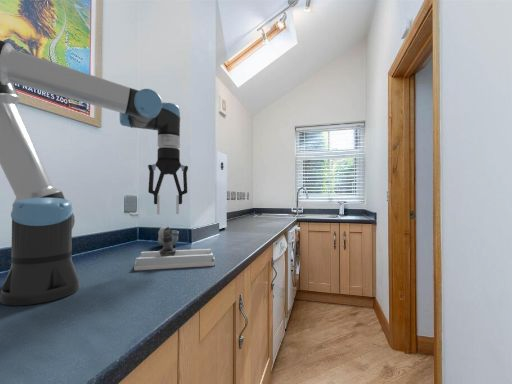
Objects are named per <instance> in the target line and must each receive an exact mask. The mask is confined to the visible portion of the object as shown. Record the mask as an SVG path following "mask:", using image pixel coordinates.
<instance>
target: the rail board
mask: <svg viewBox="0 0 512 384" xmlns="http://www.w3.org/2000/svg"><path fill="white" fill-rule="evenodd" d="M133 265H134V266H133V271H148V270H163V269H166V270H167V269H179V268H181V269H182V268H194V267H195V268H197V267H210V266H211V267H214V265H215V266H216V258H215V256H214V254H213V252H212V249H211V248H198V249H196V248H195V249H179V250H177V249H176V251H175V255H174V256H163V257H161V255H160V252H159V250H157V251H156V250H153V251H141V252H140V255H139V256H138V257H136V258H135V262H134V264H133Z"/></svg>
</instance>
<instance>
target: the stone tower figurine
mask: <svg viewBox="0 0 512 384" xmlns="http://www.w3.org/2000/svg"><path fill="white" fill-rule="evenodd" d="M166 227H167V229H166V230H165V231H164V239H163V246H162V248H161V249H159V250H158V251H159V252H160V255H161V257H163V256H174V255H175V251H176V250H177V249H175V248H174V246H172V240H173V239H172V230H173V229H170V228H169V226H166Z"/></svg>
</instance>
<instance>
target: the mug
mask: <svg viewBox="0 0 512 384" xmlns="http://www.w3.org/2000/svg"><path fill="white" fill-rule="evenodd" d="M167 227H168V226H163V225H162V226H161V227H160V228H159V230H158V231H157V234H158V238H157V242H158V244H159V245H160V246H162V247H163V239H164V231H165V230H166V229H167ZM171 230H172V239H173V240H172V246H173V247H174V246H175V245H177V243H178V242H179V234H180V233H179V232H180V231H178V230H175V229H174V230H173V229H171Z"/></svg>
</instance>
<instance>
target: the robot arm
mask: <svg viewBox="0 0 512 384" xmlns="http://www.w3.org/2000/svg"><path fill="white" fill-rule="evenodd" d="M14 84H15V85H19V86H23V87H27V88H29V89H34V90H38V91H42V92H44V93H49V94H53V95H56V96H59V97H63V98H67V99H70V100H74V101H78V102H82V103H85V104H89V105H92V106H96V107H99V108H102V109H103V108H104V109H107V110H110V111H114V112H118V113H119V124H120V125H121V126H123V127H127V128H134V129H141V130H152V131H157V147H158V148H157V158H156V159H157V161H156V162H155V163H154V164H148V165H147V168H148V171H149V172H148V173H149V175H148V176H149V177H148V193H149V194H151V195H153V204H154V205H156V207H157V208H156V211H157V212H156V213H157V215H161V194H159V193H160V190H161V186H162V183H163V180H164V177H165V175H171V176H173V179H174V182H175V186H176V190H177V193H178V194H177V195H176V198H175V199H176V205H175V206H176V207H175V209H176V210H175V211H176V214H177V215H179V213H180V205H182V204H183V195H186V194H187V193H188V179H187V178H188V176H187V173H188V170H189V166H188V165H183V164H182V163H181V161H180V160H181V159H180V156H181V154H180V153H181V152H180V151H181V150H180V148H181V136H180V135H181V134H180V133H181V111H180V110H181V109H180V107H179V106H178V105H177V104H175V103H172V102H163V99H162V97H161V96H160V95H159V93H158V92H156V91H155V90H153V89H150V88H143V89H140V90H138V89H135V88H131V87H128V86H125V85H122V84H119V83H116V82H114V81H111V80H107V79H105V78H101V77H98V76H95V75H92V74H90V73H87V72H83V71H81V70H77V69H74V68H71V67H67V66H66V65H63V64H59V63H55V62H52V61H49V60H47V59H43V58H41V57H38V56H34V55H32V54H29V53H26V52H23V51H19V50H16V49H15V48H14V46H13V45H12V43H10V42H6V41H3V40H1V39H0V167H1V169H2V171H3V173H4V175H5V177H6V179H7V181H8V183H9V185H10V187H11V189H12V191H13V194H14V195H15V199H14V201H13V202H12V204H11V205H12V209H11V211H10V217H11V251H10V252H11V255H10V256H11V260H10V261H11V263H10V264H11V265H10V268H9V270H8V273H7V276H6V278H5V279H4V282H3V283H4V284H3V285H2V287H1V290H0V303H1V304H2V305H7V306H29V305H37V304H42V303H47V302H52V301H56V300H60V299H63V298H65V297H67V296H71V295H72V294H74V293H77V291H79V289H80V278H79V276H78V273H77V271H76V268H75V265H74V263H73V259H72V250H73V249H72V246H73V245H72V244H73V243H72V239H73V238H72V237H73V236H72V235H73V228H74V226H75V223H76V222H75V220H76V219H75V214H74V210H73V205H72V202H71V201H70V200H68V199H66V198H65V196H64V193H63V191H62V190H61V189H58V188H56V187H54V186H53V185H52V182H51V179H50V177H49V175H48V172H47V171H46V168H45V167H44V164H43V162H42V160H41V158H40V155H39V154H38V151H37V149H36V147H35V144H34V143H33V140H32V138H31V136H30V134H29V131H28V129H27V127H26V125H25V123H24V121H23V119H22V116H21V114H20V111H19V109H18V107H17V105H18V104H19V102H20V100H21V98H20V96H19V94H18V91H17V89H16V88H15V85H14ZM156 168H157V169H158V170H159V171H160V173H159V176H158V179H157V182H156V186H155V188H154V182H155V181H154V179H155V177H154V176H155V171H156ZM180 169H181V172H182V177H183V178H182V180H183V182H182V183H183V190H182V188H181V185H180V181H179V178H178V175H177V172H178V171H179V170H180Z"/></svg>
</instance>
